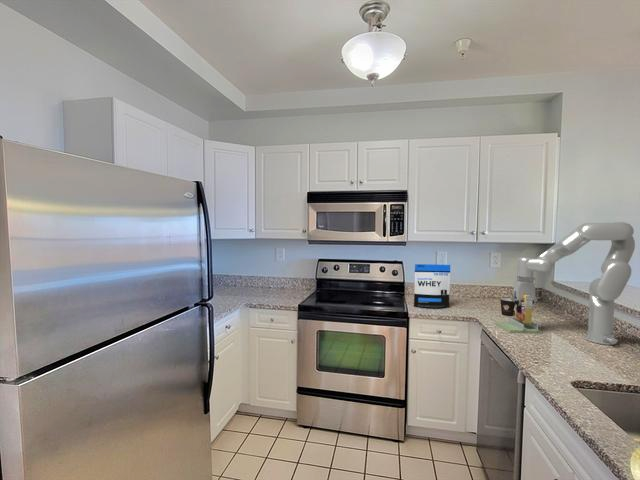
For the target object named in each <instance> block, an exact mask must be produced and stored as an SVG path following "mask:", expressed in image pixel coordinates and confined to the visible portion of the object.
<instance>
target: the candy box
mask: <svg viewBox="0 0 640 480" xmlns="http://www.w3.org/2000/svg"><path fill="white" fill-rule="evenodd" d="M515 300H517V299H515ZM520 306H522V308H521V313H518V312H517V310H516V307H517V305H515V307H514V311H515V312H514V313H515V314H514V317H515V319H518V320H520V321H522V322H524V323H531V321H532V319H533V296H532V295H523V300H522V302H521V305H520ZM532 322H533V321H532Z"/></svg>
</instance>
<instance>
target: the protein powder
mask: <svg viewBox="0 0 640 480" xmlns="http://www.w3.org/2000/svg"><path fill="white" fill-rule="evenodd" d="M451 267H452V265H451V264H433V263H432V264H431V263H429V264H428V263H427V264H419V263H418V264H417V263H415V264H414V290H413V292H414V294H413V297H414V298H413V308H419V309H427V310H443V309H449V308H450V290H451V289H450V288H451V287H450V285H451Z"/></svg>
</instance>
